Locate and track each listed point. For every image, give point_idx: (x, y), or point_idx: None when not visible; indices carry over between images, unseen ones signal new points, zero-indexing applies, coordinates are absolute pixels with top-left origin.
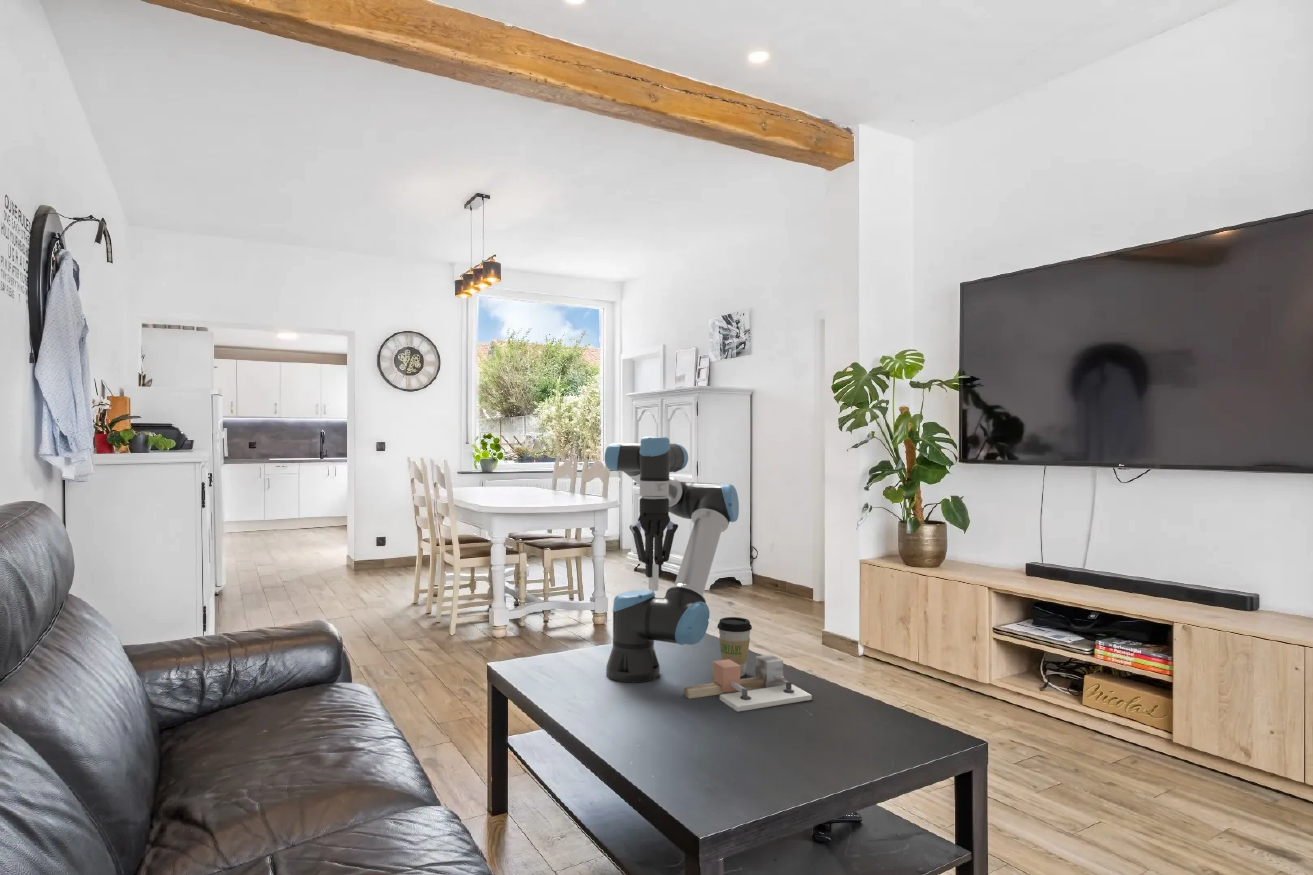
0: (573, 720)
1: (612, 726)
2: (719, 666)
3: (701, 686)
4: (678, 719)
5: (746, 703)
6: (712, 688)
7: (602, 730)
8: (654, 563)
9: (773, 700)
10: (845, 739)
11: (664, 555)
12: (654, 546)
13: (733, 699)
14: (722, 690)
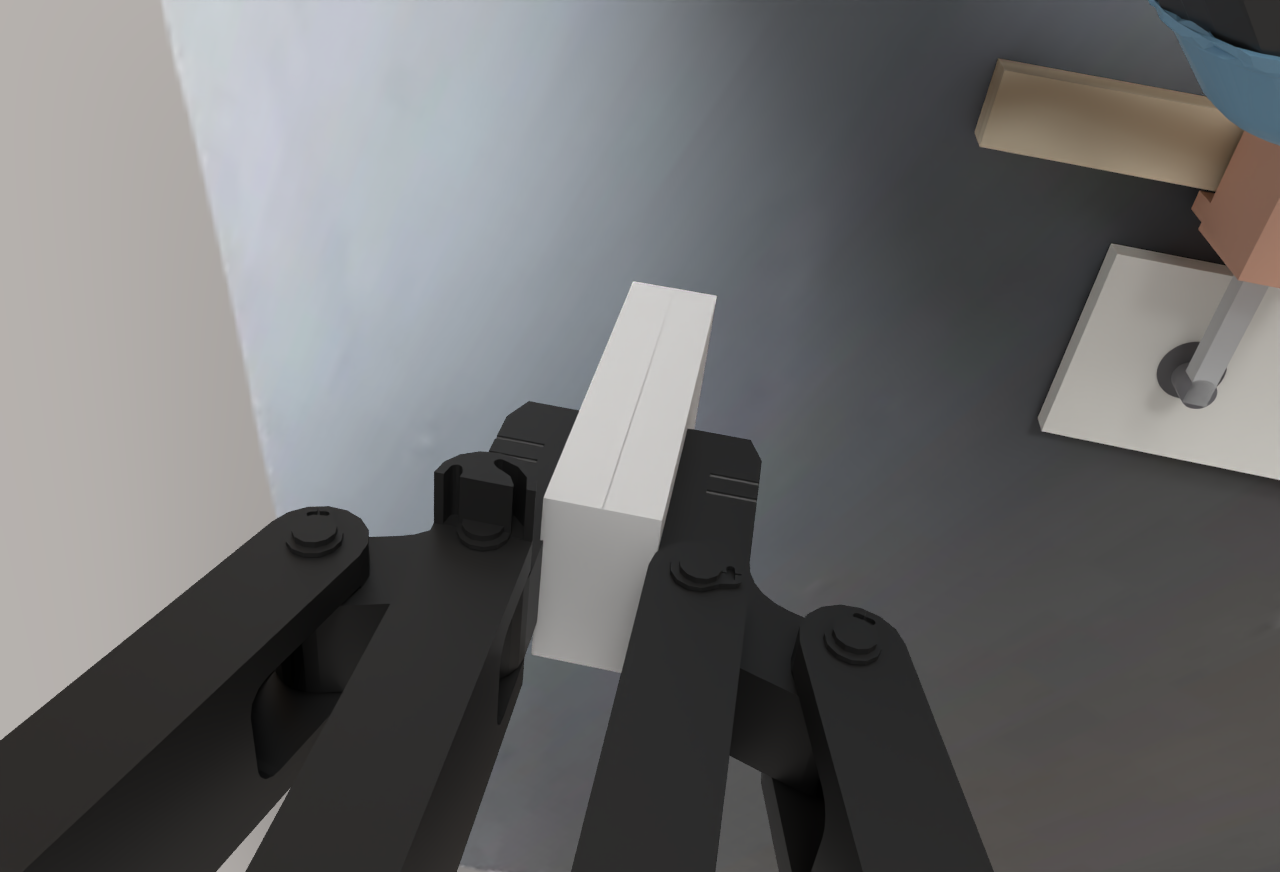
0: (244, 55)
1: (399, 230)
2: (1265, 216)
3: (1109, 123)
4: (720, 333)
5: (1120, 425)
6: (1148, 177)
7: (341, 244)
8: (656, 540)
9: (1275, 472)
10: (1134, 798)
11: (781, 809)
12: (580, 839)
13: (1116, 349)
14: (1196, 207)
